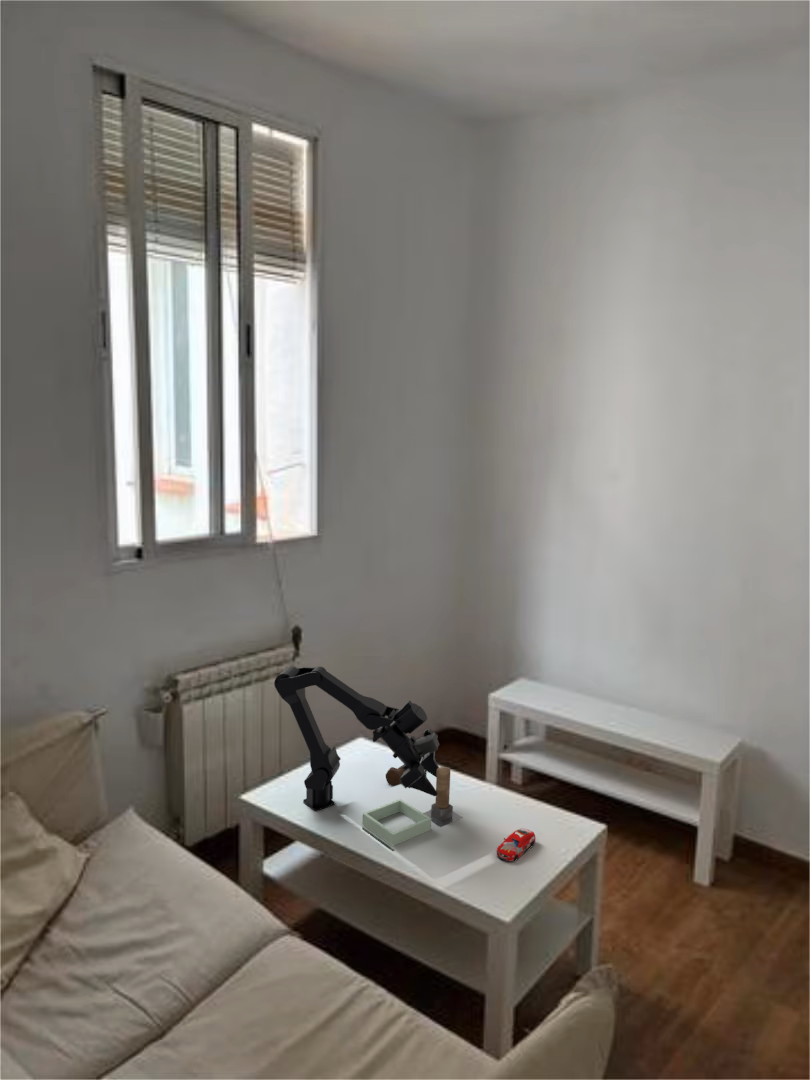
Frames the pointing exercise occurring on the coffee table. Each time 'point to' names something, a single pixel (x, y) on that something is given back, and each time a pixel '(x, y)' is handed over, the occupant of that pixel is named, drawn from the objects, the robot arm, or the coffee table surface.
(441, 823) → the square lid with knob
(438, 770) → the brown peg with base
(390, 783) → the bolt
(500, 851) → the race car
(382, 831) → the bin
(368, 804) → the coffee table surface
